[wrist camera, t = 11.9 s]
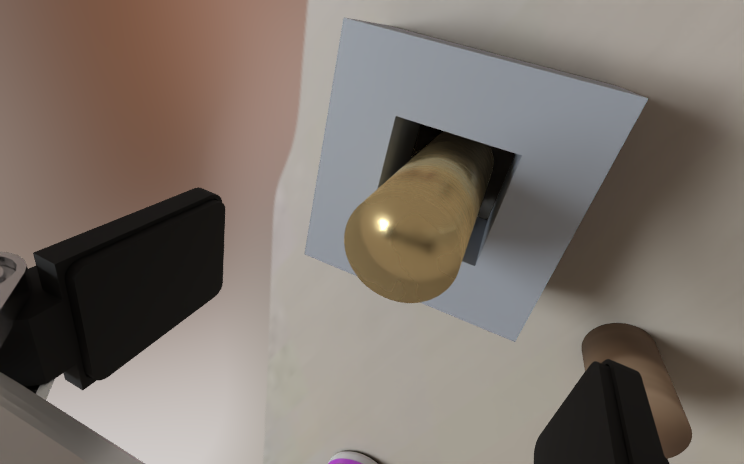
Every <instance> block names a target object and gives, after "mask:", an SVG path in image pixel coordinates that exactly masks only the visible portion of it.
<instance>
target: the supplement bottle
mask: <svg viewBox="0 0 744 464" xmlns="http://www.w3.org/2000/svg"><path fill="white" fill-rule="evenodd" d="M328 464H378V463H376V462H375V461H374V460H372V459H371V458H369V457H367V456H365V455H363V454H360V453H357V452H351V451H344V452H340V453H337V454H335V455H334V456H333V457H332V458H331V459H330V461H329V462H328Z"/></svg>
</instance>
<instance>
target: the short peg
mask: <svg viewBox="0 0 744 464" xmlns="http://www.w3.org/2000/svg"><path fill="white" fill-rule="evenodd" d="M582 355H583V361H584V367H585V371H586V370H587V369H588V367H589V366H590V365H591V363H592V362H594V361H597V362H599V363H602V362H603V361H604V360H606V359H610V360H613V361H615V362H617V363H620V364H622V365H625V366H627V367H629V368H632V369H634V370H637V371H638V372H639V373H640V375H641V377H642V380H643V384H644V387H645V391H646V394H647V397H648V401H649V404H650V408H651V411H652V415H653V418H654V422H655V425H656V428H657V432H658V435H659V439H660V442H661V446H662V449H663V453H664V456H665V457H666V458H667V459H668V458H671V457H674V456H676V455H678V454H680V453H681V452H683V451H684V450H685V449H686V448H687V447H688V446H689V444H690V442H691V439H692V430H691V427H690V424H689V422H688V419H687V417H686V415H685V412H684V410H683V408H682V405H681V403H680V400H679V398H678V396H677V393H676V391H675V389H674V386H673V384H672V381H671V379H670V377H669V374H668V372H667V370H666V367H665V365H664V362H663V360H662V358H661V355H660V353H659V351H658V348H657V346H656V343H655V342H654V340H653V339H652V337H651V336H650V335H649V334H648V333H646V332H645V331H644V330H642V329H640V328H638V327H636V326H633V325H629V324H623V323H610V324H605V325H601V326H599V327H597V328H595V329H593V330H592V331H590V332H589V333H588V334H587V335H586V336H585V338H584V340H583V342H582Z"/></svg>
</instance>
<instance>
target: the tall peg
mask: <svg viewBox="0 0 744 464" xmlns="http://www.w3.org/2000/svg"><path fill="white" fill-rule="evenodd" d="M493 166H494V157H493V152H492V150H491V147H490V145H487V144H484V143H480V142H477V141H474V140H471V139H468V138H464V137H461V136H458V135H455V134H452V133H449V132H443V133H441V134H439V135H438V136H437V137H436V138H434V139H433V140H432V141H431V142H430V143H429V144H428V145H427V146H425V147H424V148H423V149H422V150H421V151H420V152H419V153H418V154H416V155H415V156H414V157H413V158H412V159H411V160H410V161H409V162H407V163H406V164H405V165H404V166H403V167H402V168H401V169H400V170H398V171H397V172H396V173H395V174H394V175H393V176H392V177H390V178H389V179H388V180H387V181H386V182H385V183H384V184H383V185H381V186H380V187H379V188H378V189H377V190H376V191H375V192H374V193H372V194H371V195H370V196H369V197H368V198H367V199H366V200H365V201H363V202H362V203H361V204H360V205H359V206H358V207H357V208H356V209H355V210H354V211H353V213H352V214H351V216H350V218H349V220H348V222H347V225H346V228H345V233H344V246H345V252H346V256H347V259H348V261H349V264H350V266H351V267H352V269H353V271H354V272H355V274H356V275H357V276H358V278H359V279H360V280H361V281H362V282H363V283H364V284H365V285H366V286H367V287H369V288H370V289H371V290H372V291H374V292H376V293H377V294H379V295H381V296H383V297H385V298H388V299H390V300H394V301H398V302H404V303H418V302H424V301H428V300H431V299H433V298H435V297H437V296H439V295H441V294H442V293H443V292H445V291H446V290H447V289H448V288H449V287H450V286H451V285H452V283H453V282H454V280H455V279H456V277H457V275H458V272H459V269H460V266H461V263H462V260H463V257H464V254H465V251H466V248H467V245H468V242H469V239H470V236H471V233H472V230H473V227H474V224H475V221H476V219H477V216H478V213H479V210H480V207H481V204H482V201H483V198H484V195H485V192H486V189H487V186H488V183H489V180H490V177H491V174H492V171H493Z"/></svg>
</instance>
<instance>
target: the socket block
mask: <svg viewBox="0 0 744 464" xmlns="http://www.w3.org/2000/svg"><path fill="white" fill-rule="evenodd" d="M647 100H648V98H646V97H644V96H641V95H639V94H636V93H634V92H631V91H629V90H626V89H624V88H621V87H619V86H616V85H612V84H608V83H605V82H601V81H597V80H593V79H589V78H586V77H582V76H578V75H574V74H571V73H567V72H563V71H559V70H555V69H552V68H548V67H544V66H540V65H536V64H533V63H529V62H525V61H521V60H517V59H514V58H510V57H506V56H502V55H498V54H495V53H491V52H487V51H483V50H479V49H476V48H472V47H468V46H464V45H461V44H457V43H453V42H449V41H445V40H442V39H438V38H434V37H430V36H426V35H423V34H419V33H415V32H411V31H407V30H404V29H400V28H396V27H392V26H388V25H383V24H377V23H372V22H366V21H361V20H355V19H349V18H344V19H343V25H342V31H341V37H340V43H339V49H338V55H337V61H336V67H335V73H334V79H333V85H332V91H331V97H330V103H329V110H328V116H327V122H326V128H325V134H324V140H323V146H322V152H321V158H320V164H319V170H318V176H317V182H316V188H315V194H314V200H313V206H312V212H311V218H310V224H309V230H308V236H307V242H306V248H305V255H308V256H310V257H312V258H315V259H317V260H320V261H322V262H324V263H327V264H329V265H332V266H334V267H336V268H339V269H341V270H344V271H346V272H348V273H351V274H353V275H356V274H355V272H354V271H353V269H352V267H351V266H350V264H349V261H348V259H347V256H346V252H345V246H344V233H345V228H346V225H347V222H348V220H349V218H350V216H351V214H352V213H353V211H354V210H355V209H356V208H357V207H358V206H359V205H360V204H361V203H362V202H363V201H365V200H366V199H367V198H368V197H369V196H370V195H371V194H372V193H374V192H375V191H376V190H377V189H378V188H379V187H380V186H381V185H383V184H384V183H385V182H386V181H387V180H388V179H389V178H390V177H392V176H393V175H394V174H395V173H396V172H397V171H398V170H400V169H401V168H402V167H403V166H404V165H405V164H406V163H407V162H409V161H410V159H411V156H412V152H413V149H414V145H415V142H416V138H417V135H418V131H419V128H420V124H423V125H426V126H430V127H433V128H436V129H439V130H442V131H445V132H449V133H452V134H455V135H458V136H461V137H464V138H468V139H471V140H474V141H477V142H480V143H484V144H487V145H490V146H493V147H496V148H499V149H503V150H506V151H509V152H512V153H515V155H514V158H513V160H512V162H511V165H510V167H509V170H508V172H507V175H506V177H505V179H504V182H503V184H502V187H501V189H500V191H499V194H498V196H497V199H496V201H495V203H494V206H493V208H492V211H491V213H490V215H489V218H488V220H485V219H482V218H479V217H477V219H476V221H475V224H474V227H473V230H472V233H471V236H470V239H469V242H468V245H467V248H466V251H465V254H464V257H463V260H462V263H461V266H460V269H459V272H458V275H457V277H456V279H455V280H454V282H453V283H452V285H451V286H450V287H449V288H448V289H447V290H446V291H445V292H443V293H442V294H441V295H439V296H437V297H435V298H433V299H431V300H428V301H424V302H420V303H423V304H425V305H428V306H430V307H432V308H435V309H437V310H440V311H442V312H444V313H447V314H449V315H452V316H454V317H456V318H459V319H461V320H464V321H466V322H468V323H471V324H473V325H476V326H478V327H480V328H483V329H485V330H488V331H490V332H492V333H495V334H497V335H500V336H502V337H504V338H507V339H509V340H511V341H514V342H515V341H516V339H517V337H518V336H519V334H520V332H521V330H522V328H523V326H524V325H525V323H526V321H527V319H528V317H529V316H530V314H531V312H532V310H533V308H534V306H535V305H536V303H537V301H538V299H539V297H540V295H541V294H542V292H543V290H544V288H545V286H546V285H547V283H548V281H549V279H550V277H551V275H552V274H553V272H554V270H555V268H556V266H557V264H558V263H559V261H560V259H561V257H562V255H563V253H564V252H565V250H566V248H567V246H568V244H569V243H570V241H571V239H572V237H573V235H574V233H575V232H576V230H577V228H578V226H579V224H580V222H581V221H582V219H583V217H584V215H585V213H586V212H587V210H588V208H589V206H590V204H591V202H592V201H593V199H594V197H595V195H596V193H597V191H598V190H599V188H600V186H601V184H602V182H603V181H604V179H605V177H606V175H607V173H608V171H609V170H610V168H611V166H612V164H613V162H614V160H615V159H616V157H617V155H618V153H619V151H620V149H621V148H622V146H623V144H624V142H625V140H626V139H627V137H628V135H629V133H630V131H631V129H632V128H633V126H634V124H635V122H636V120H637V118H638V117H639V115H640V113H641V111H642V109H643V108H644V106H645V104H646V102H647ZM356 276H357V275H356Z"/></svg>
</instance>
